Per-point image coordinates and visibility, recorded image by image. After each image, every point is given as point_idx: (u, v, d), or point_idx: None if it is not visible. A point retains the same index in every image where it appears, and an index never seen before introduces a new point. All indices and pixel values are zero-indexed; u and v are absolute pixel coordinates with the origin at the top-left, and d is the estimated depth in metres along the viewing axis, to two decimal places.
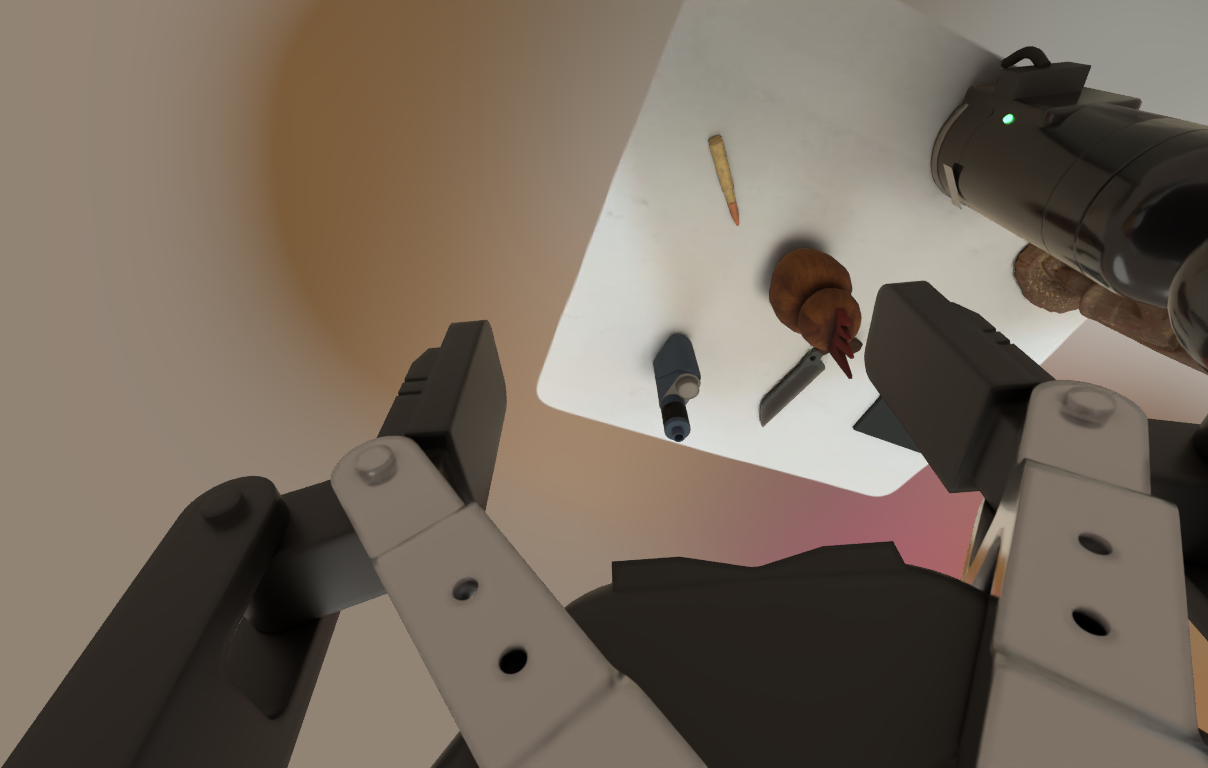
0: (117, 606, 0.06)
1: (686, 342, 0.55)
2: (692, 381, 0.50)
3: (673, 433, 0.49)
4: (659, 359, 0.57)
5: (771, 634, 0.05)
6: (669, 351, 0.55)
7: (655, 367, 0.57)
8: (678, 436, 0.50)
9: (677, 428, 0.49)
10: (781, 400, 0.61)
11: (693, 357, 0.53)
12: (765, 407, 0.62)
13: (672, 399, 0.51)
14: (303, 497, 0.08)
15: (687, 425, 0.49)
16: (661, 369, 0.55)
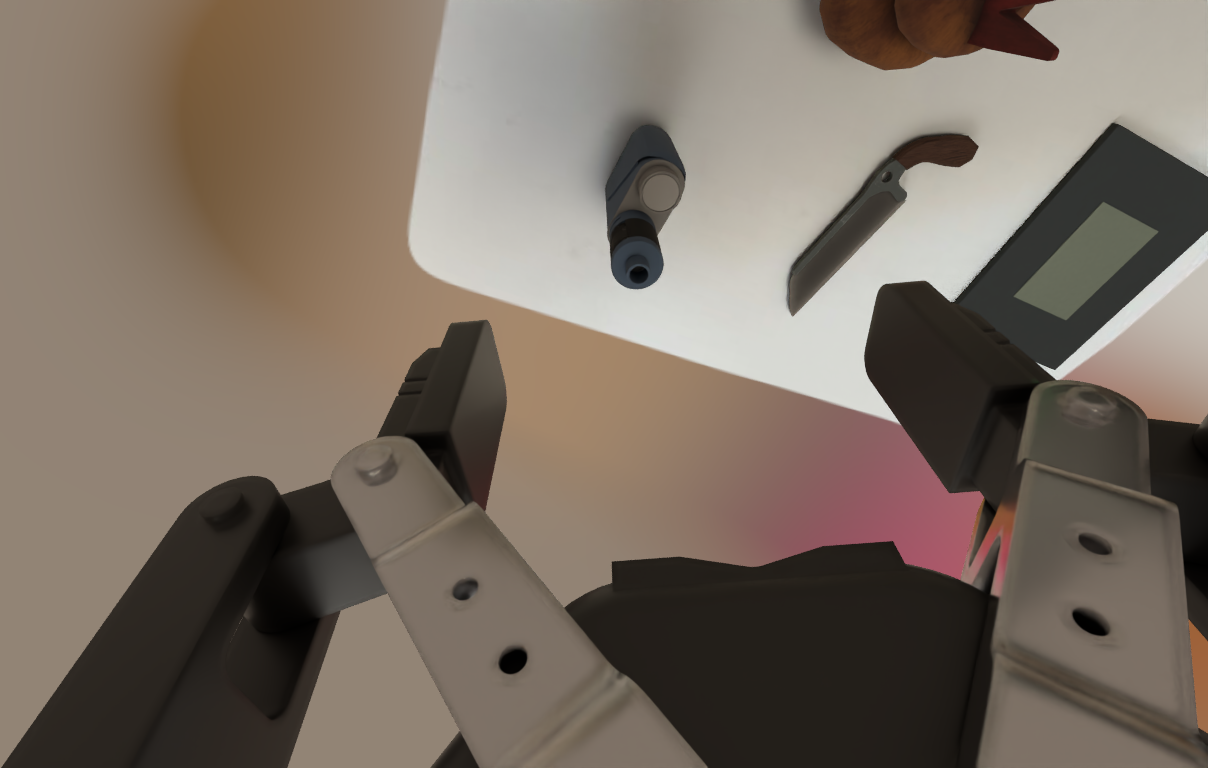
0: (117, 606, 0.06)
1: (661, 131, 0.30)
2: (668, 171, 0.25)
3: (627, 267, 0.24)
4: (614, 174, 0.32)
5: (771, 634, 0.05)
6: (629, 148, 0.30)
7: (607, 190, 0.32)
8: (639, 277, 0.24)
9: (636, 257, 0.24)
10: (826, 264, 0.36)
11: (672, 147, 0.28)
12: (798, 278, 0.37)
13: (630, 216, 0.26)
14: (303, 497, 0.08)
15: (656, 252, 0.24)
16: (615, 182, 0.30)
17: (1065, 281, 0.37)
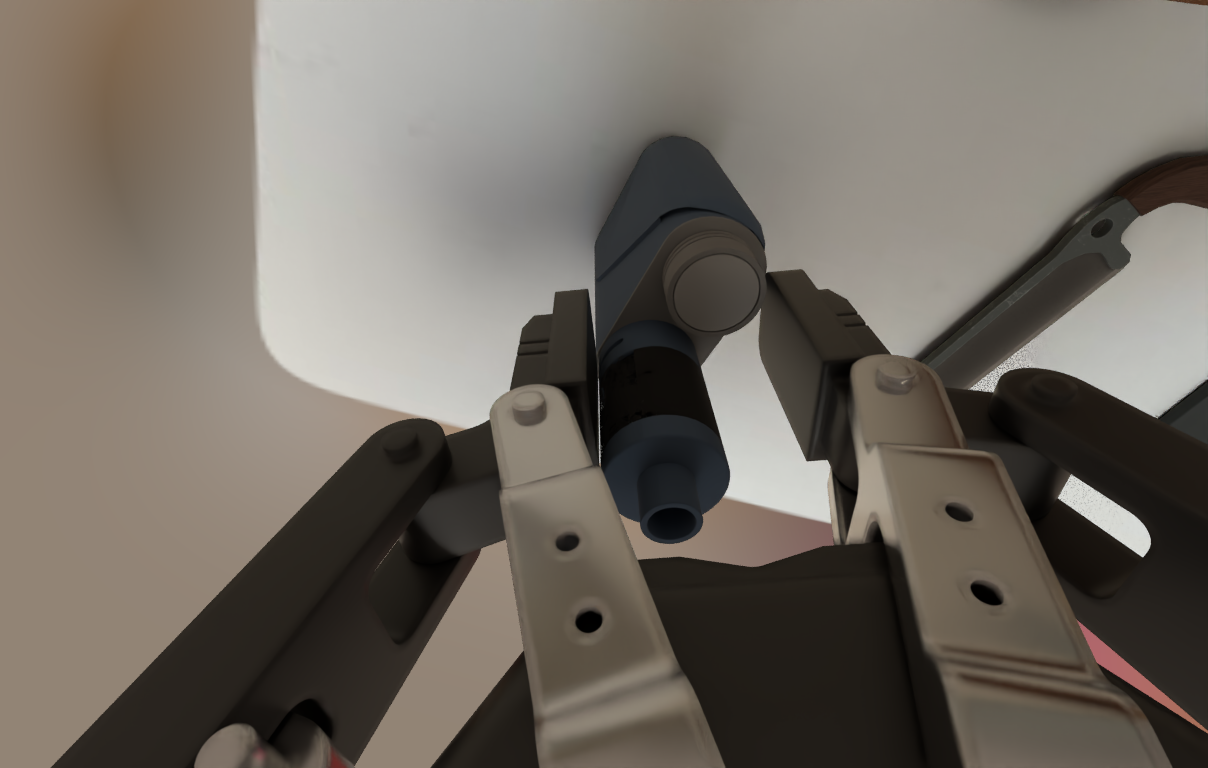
0: (304, 506, 0.07)
1: (700, 149, 0.15)
2: (736, 246, 0.11)
3: (643, 501, 0.09)
4: (610, 226, 0.17)
5: (771, 634, 0.05)
6: (639, 180, 0.15)
7: (597, 254, 0.18)
8: (670, 513, 0.10)
9: (664, 474, 0.09)
10: (966, 367, 0.22)
11: (730, 182, 0.14)
12: None
13: (644, 339, 0.12)
14: (457, 440, 0.09)
15: (715, 458, 0.10)
16: (611, 246, 0.15)
17: None
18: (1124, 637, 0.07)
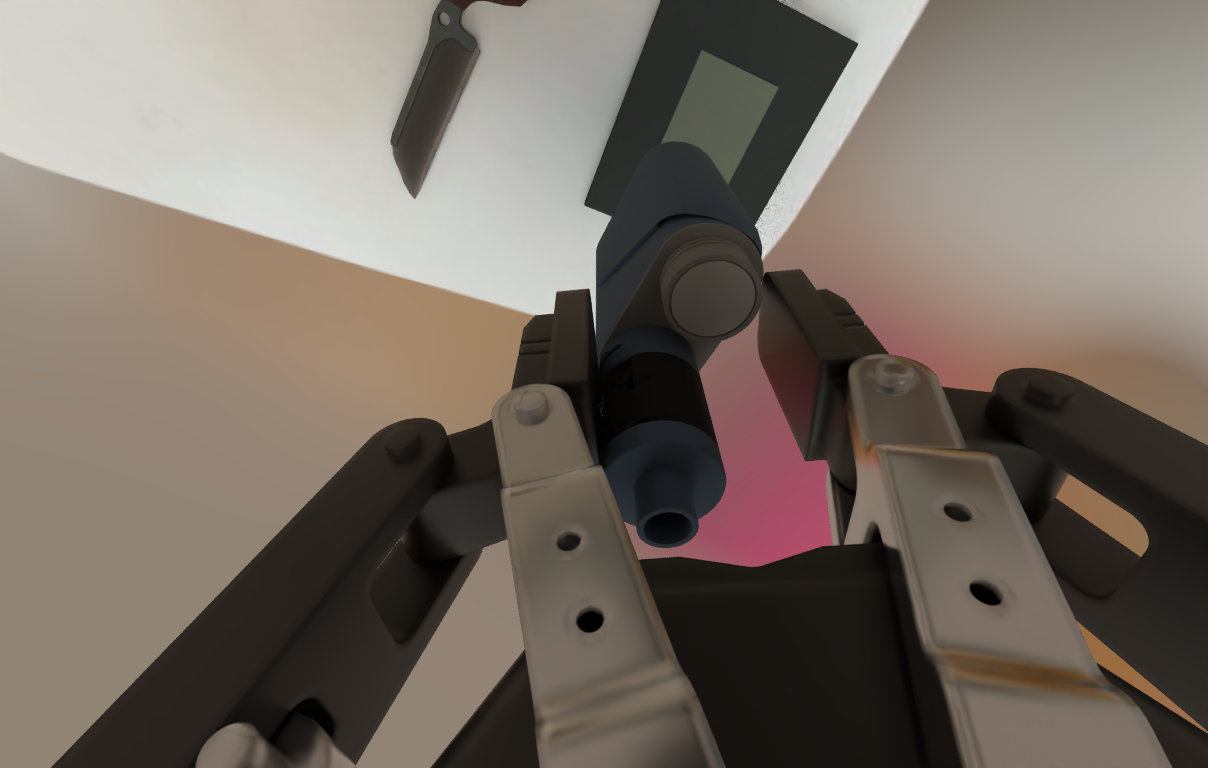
0: (307, 505, 0.07)
1: (699, 153, 0.15)
2: (731, 253, 0.11)
3: (639, 506, 0.09)
4: (611, 231, 0.17)
5: (771, 634, 0.05)
6: (639, 186, 0.15)
7: (599, 258, 0.18)
8: (667, 518, 0.10)
9: (660, 480, 0.10)
10: (425, 133, 0.33)
11: (728, 187, 0.14)
12: (402, 150, 0.33)
13: (642, 344, 0.12)
14: (459, 440, 0.09)
15: (711, 463, 0.10)
16: (611, 251, 0.16)
17: None
18: (1123, 637, 0.07)
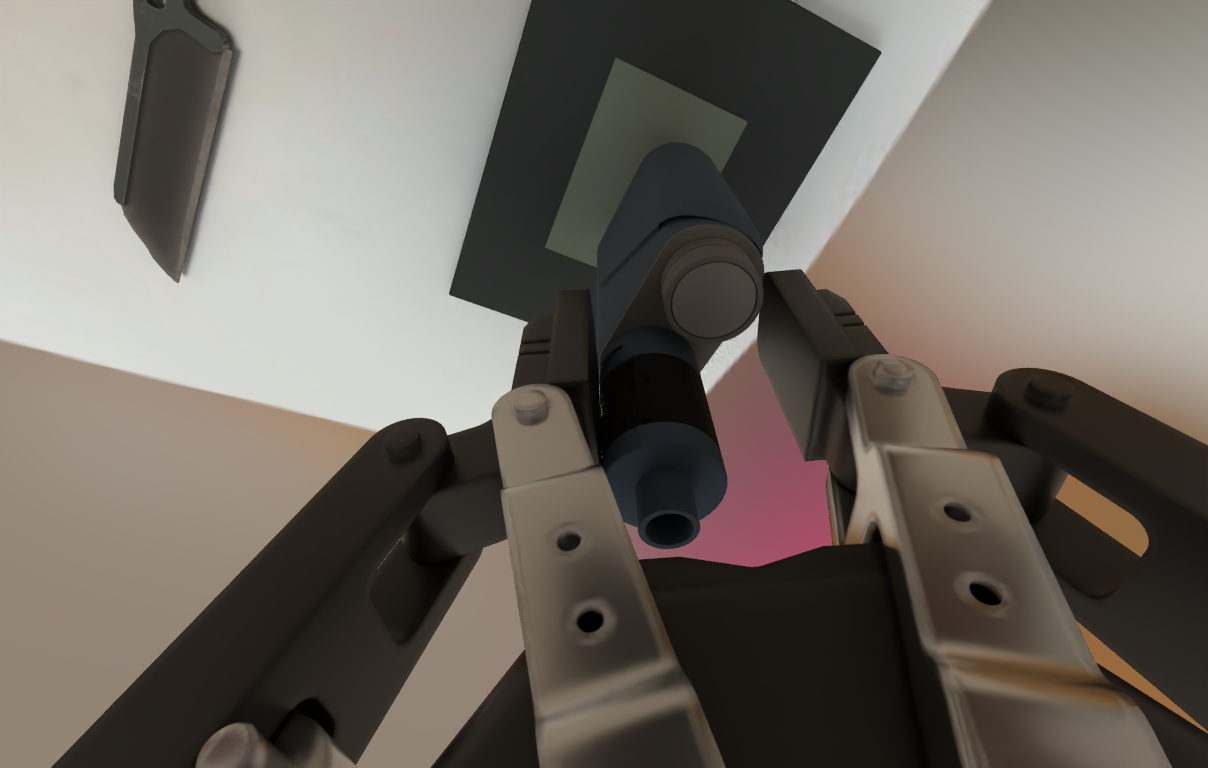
0: (306, 505, 0.07)
1: (700, 155, 0.16)
2: (732, 254, 0.11)
3: (641, 507, 0.09)
4: (611, 232, 0.17)
5: (771, 634, 0.05)
6: (640, 187, 0.15)
7: (599, 259, 0.18)
8: (669, 519, 0.10)
9: (661, 481, 0.10)
10: (171, 185, 0.20)
11: (728, 188, 0.14)
12: (140, 211, 0.21)
13: (643, 345, 0.12)
14: (459, 441, 0.09)
15: (712, 464, 0.10)
16: (612, 252, 0.16)
17: None
18: (1122, 637, 0.07)
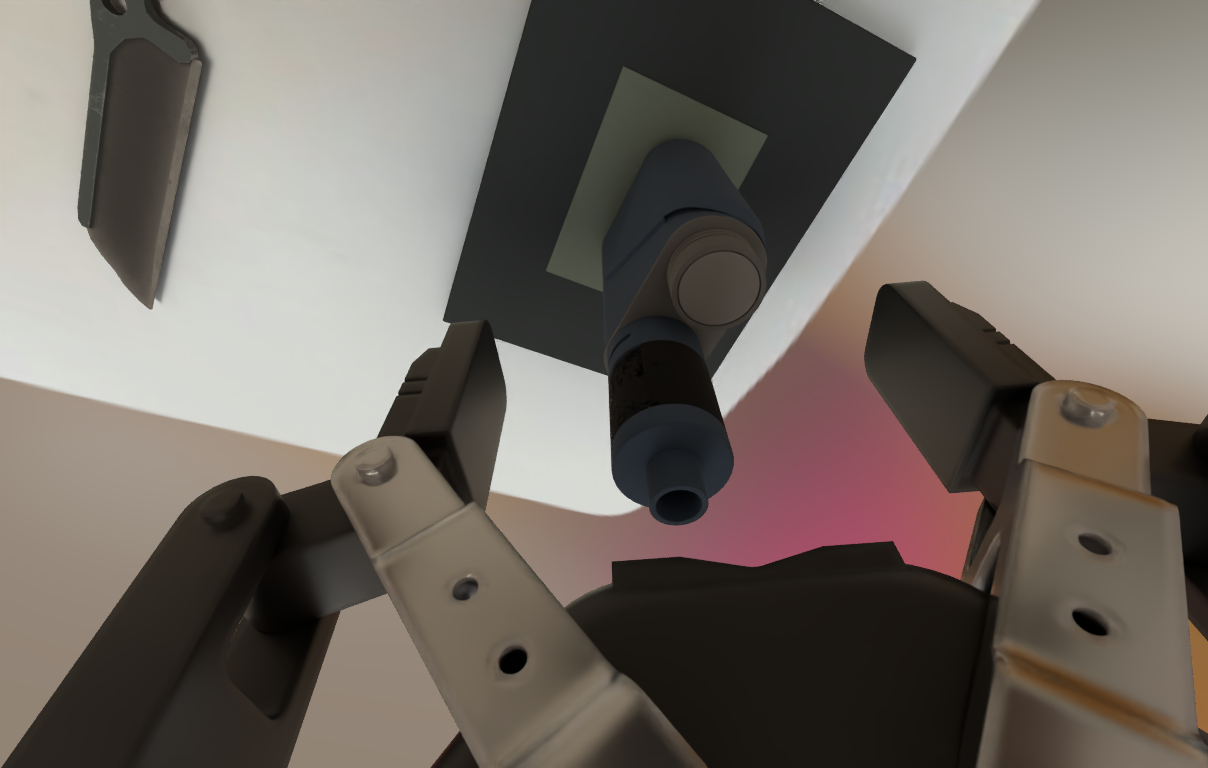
0: (117, 606, 0.06)
1: (702, 150, 0.16)
2: (736, 243, 0.11)
3: (651, 485, 0.10)
4: (616, 227, 0.18)
5: (771, 634, 0.05)
6: (644, 182, 0.16)
7: (605, 254, 0.18)
8: (678, 497, 0.10)
9: (671, 460, 0.10)
10: (141, 206, 0.18)
11: (731, 182, 0.14)
12: (107, 234, 0.19)
13: (651, 333, 0.12)
14: (303, 497, 0.08)
15: (719, 444, 0.10)
16: (618, 246, 0.16)
17: None
18: None
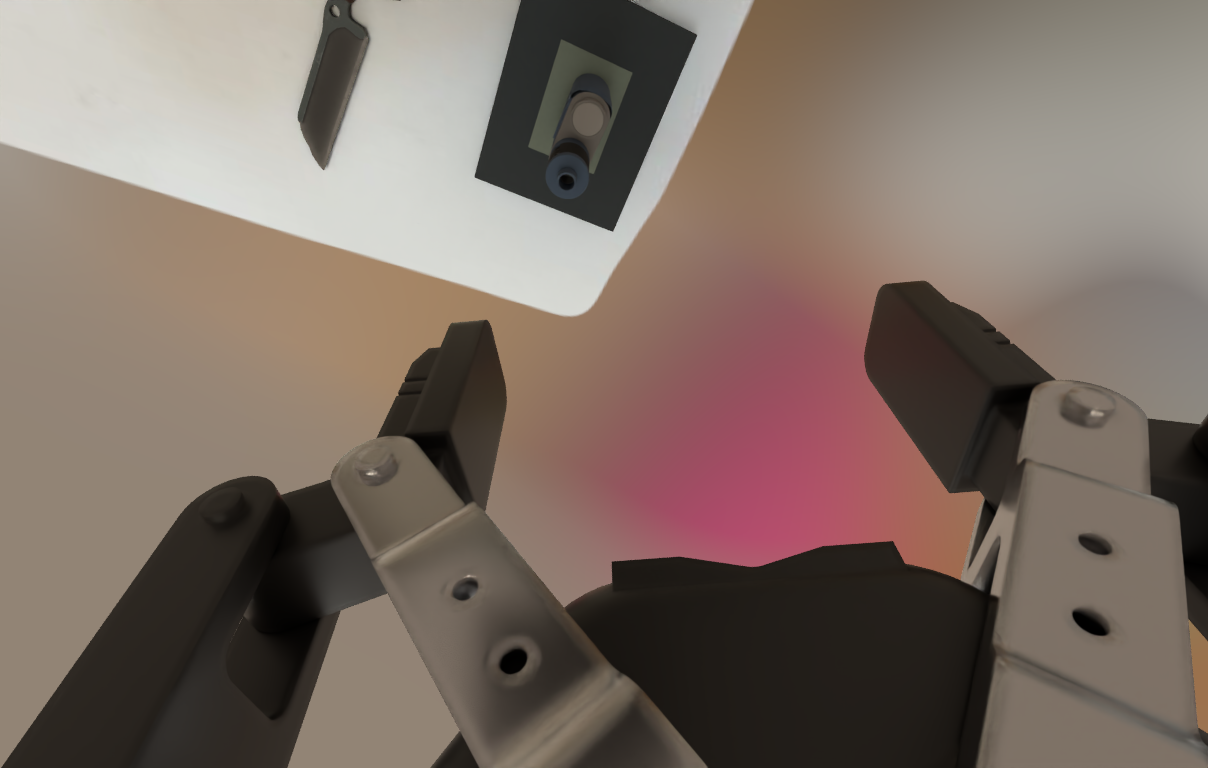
0: (117, 606, 0.06)
1: (597, 77, 0.35)
2: (592, 100, 0.30)
3: (557, 177, 0.29)
4: None
5: (771, 634, 0.05)
6: (570, 92, 0.35)
7: None
8: (569, 187, 0.30)
9: (564, 169, 0.29)
10: (328, 111, 0.38)
11: (603, 87, 0.33)
12: (309, 126, 0.38)
13: (565, 141, 0.31)
14: (303, 497, 0.08)
15: (582, 165, 0.29)
16: (559, 121, 0.35)
17: None
18: None
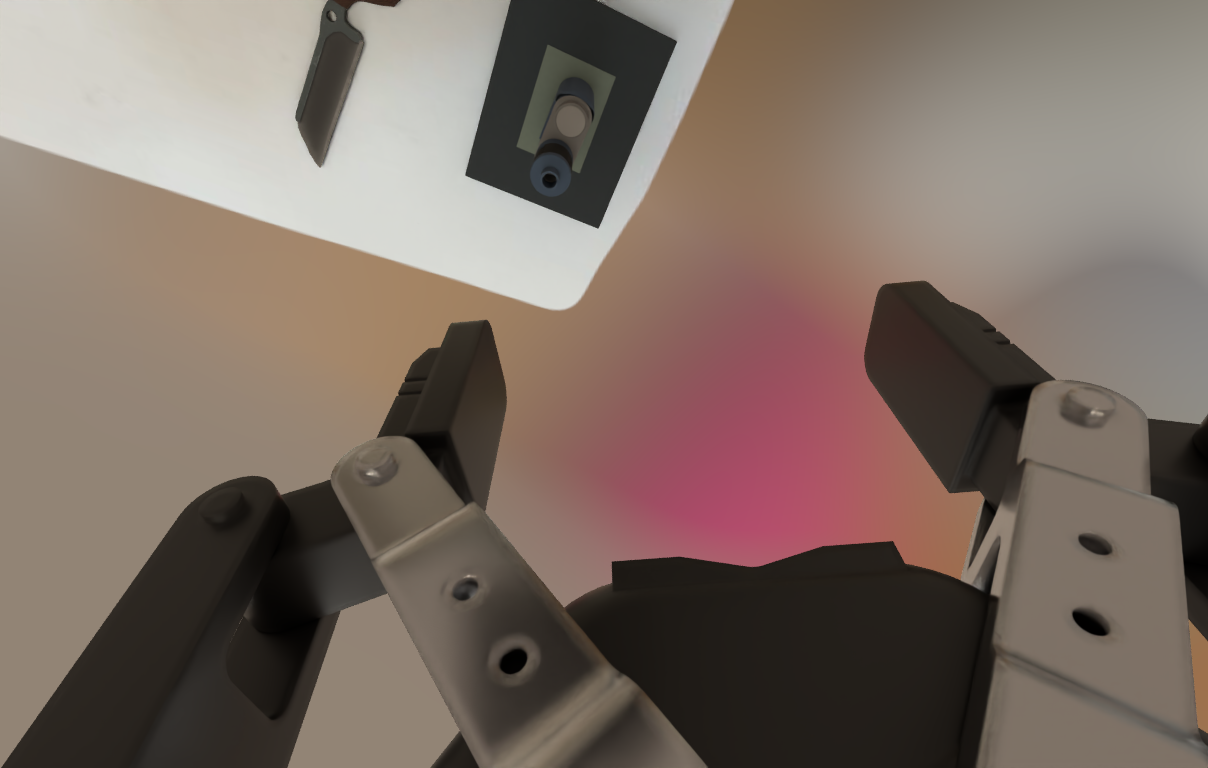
0: (117, 606, 0.06)
1: (581, 81, 0.37)
2: (575, 103, 0.32)
3: (541, 175, 0.31)
4: None
5: (770, 634, 0.05)
6: None
7: None
8: (552, 185, 0.31)
9: (547, 168, 0.31)
10: (324, 111, 0.39)
11: (586, 90, 0.35)
12: (306, 125, 0.40)
13: (549, 142, 0.33)
14: (304, 497, 0.08)
15: (564, 164, 0.31)
16: None
17: None
18: None
